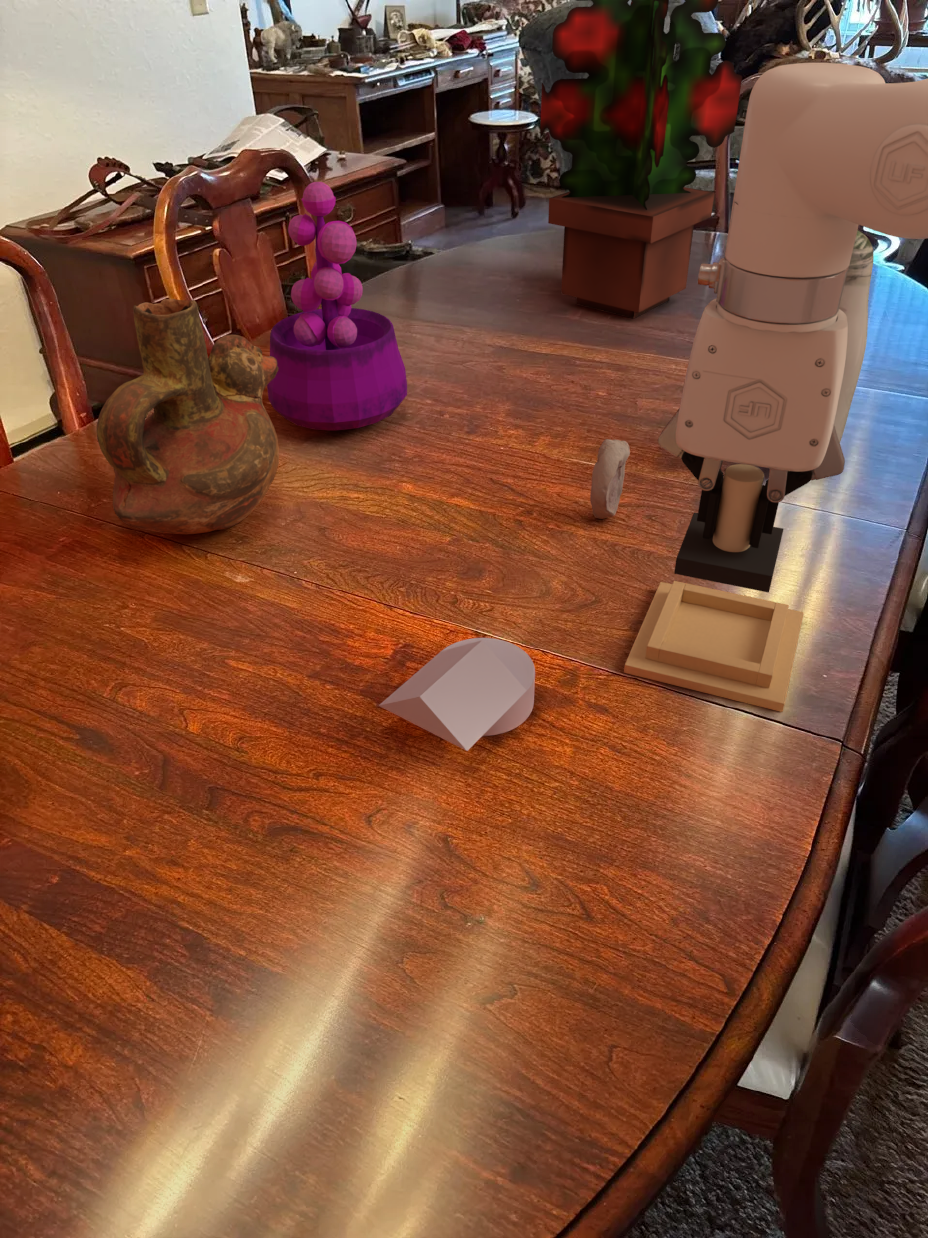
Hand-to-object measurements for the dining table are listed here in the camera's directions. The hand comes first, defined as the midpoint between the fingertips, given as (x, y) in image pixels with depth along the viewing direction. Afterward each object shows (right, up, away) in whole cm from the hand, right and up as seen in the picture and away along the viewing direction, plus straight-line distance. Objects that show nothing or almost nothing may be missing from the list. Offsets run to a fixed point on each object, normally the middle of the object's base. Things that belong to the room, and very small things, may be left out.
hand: (733, 532), depth 70 cm
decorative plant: (-37, +21, +57) cm, 71 cm away
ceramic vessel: (-49, +5, +37) cm, 62 cm away
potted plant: (+8, +49, +92) cm, 105 cm away
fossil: (-5, +5, +35) cm, 35 cm away
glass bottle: (+20, +12, +44) cm, 49 cm away
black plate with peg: (0, -2, +1) cm, 2 cm away
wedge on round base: (-20, -15, +10) cm, 27 cm away
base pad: (+3, -9, +16) cm, 19 cm away
